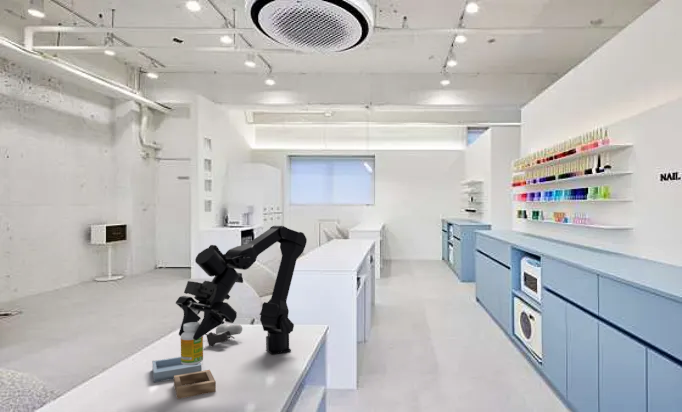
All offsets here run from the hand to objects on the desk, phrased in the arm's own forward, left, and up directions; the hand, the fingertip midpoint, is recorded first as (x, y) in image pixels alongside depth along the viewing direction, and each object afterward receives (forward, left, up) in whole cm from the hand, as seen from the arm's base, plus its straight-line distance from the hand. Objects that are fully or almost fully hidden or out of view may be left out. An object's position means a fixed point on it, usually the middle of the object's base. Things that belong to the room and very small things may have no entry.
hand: (187, 337), depth 107 cm
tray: (+1, -13, -13) cm, 19 cm away
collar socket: (-2, +1, -13) cm, 13 cm away
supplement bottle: (-1, -1, -7) cm, 7 cm away
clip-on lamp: (-13, -38, -13) cm, 42 cm away
